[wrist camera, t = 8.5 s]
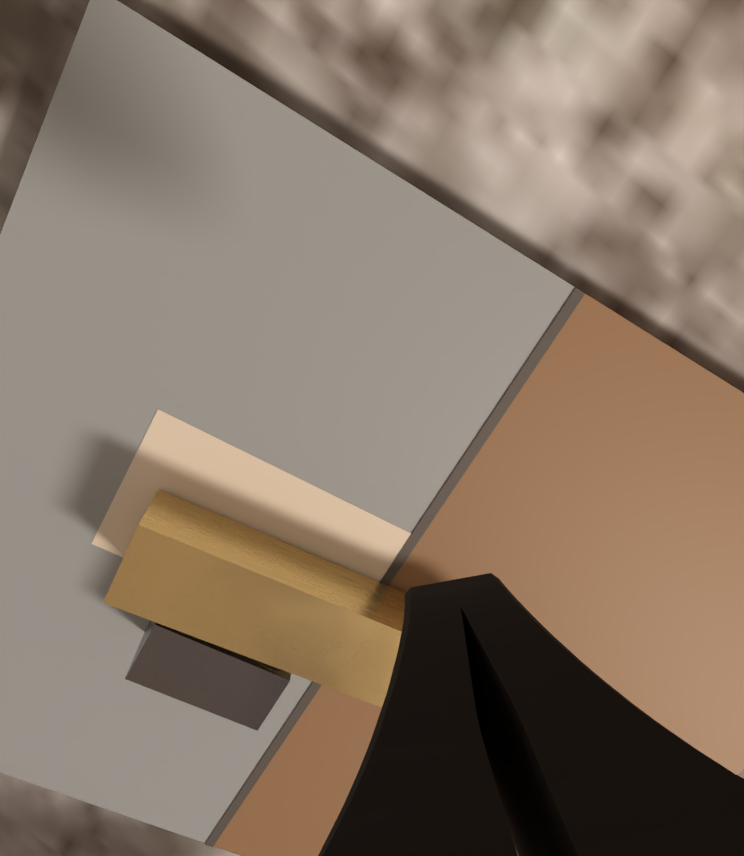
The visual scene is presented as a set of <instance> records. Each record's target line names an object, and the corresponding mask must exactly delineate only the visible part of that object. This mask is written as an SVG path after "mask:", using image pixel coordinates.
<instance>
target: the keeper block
mask: <svg viewBox="0 0 744 856" xmlns="http://www.w3.org/2000/svg"><path fill="white" fill-rule="evenodd" d="M290 677H291V673H289V672H286V671H284V670H281V669H278V668H276V667H273V666H270V665H268V664H265V663H262V662H260V661H257V660H254V659H252V658H249V657H246V656H244V655H241V654H238V653H236V652H233V651H230V650H228V649H225V648H222V647H220V646H217V645H214V644H212V643H209V642H206V641H204V640H201V639H198V638H196V637H193V636H190V635H188V634H185V633H183V632H180V631H177V630H175V629H172V628H169V627H167V626H164V625H161V624H159V623H156V622H153V621H150V623H149V625H148V627H147V628H146V630H145V632H144V634H143V637H142V639H141V641H140V644H139V646H138V649H137V651H136V653H135V656H134V658H133V661H132V663H131V665H130V668H129V670H128V672H127V675H126V677H125V679H126V680H129V681H131V682H134V683H136V684H139V685H142V686H144V687H147V688H149V689H152V690H154V691H157V692H159V693H162V694H165V695H167V696H170V697H172V698H175V699H177V700H180V701H182V702H185V703H188V704H190V705H193V706H195V707H198V708H200V709H203V710H205V711H208V712H211V713H213V714H216V715H218V716H221V717H223V718H226V719H228V720H231V721H234V722H236V723H239V724H241V725H244V726H246V727H249V728H251V729H254V730H257V731H258V729H259V728H260V726H261V725H262V723H263V722H264V720H265V719H266V717H267V716H268V714H269V713H270V711H271V709H272V708H273V706H274V705H275V703H276V702H277V700H278V699H279V697H280V696H281V694H282V693H283V691H284V690H285V688H286V686H287V685H288V683H289V682H290Z"/></svg>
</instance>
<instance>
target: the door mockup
mask: <svg viewBox="0 0 744 856" xmlns="http://www.w3.org/2000/svg"><path fill="white" fill-rule="evenodd" d="M158 489H159V490H162V491H164V492H166V493H169V494H171V495H174V496H176V497H178V498H181V499H183V500H185V501H188V502H190V503H193V504H195V505H197V506H200V507H202V508H204V509H207V510H209V511H212V512H214V513H216V514H219V515H221V516H224V517H226V518H228V519H231V520H233V521H235V522H238V523H240V524H243V525H245V526H247V527H250V528H252V529H254V530H257V531H259V532H262V533H264V534H266V535H269V536H271V537H273V538H276V539H278V540H281V541H283V542H285V543H288V544H290V545H293V546H295V547H297V548H300V549H302V550H304V551H307V552H309V553H312V554H314V555H316V556H319V557H321V558H323V559H326V560H328V561H331V562H333V563H335V564H338V565H340V566H343V567H345V568H347V569H350V570H352V571H354V572H357V573H359V574H362V575H364V576H366V577H369V578H371V579H373V580H376V581H378V582H381V583H383V584H385V585H388V586H390V587H392V588H395V589H397V590H400V591H402V592H404V593H406V592H407V591H408V590H409V589H410V588H411V587H416V586H421V585H427V584H432V583H438V582H443V581H449V580H455V579H460V578H466V577H471V576H477V575H482V574H488V573H492V574H493V575H495V576H496V577H498V578H499V579H500V580H501V582H502V583H503V584H504V585H505V586H506V587H507V589H508V590H509V591H510V592H511V593H512V594H513V595H514V596H515V598H516V599H517V600H518V601H519V602H520V603H521V604H522V605H523V606H524V607H525V608H526V609H527V610H528V611H529V612H530V613H531V614H532V615H533V616H534V617H535V618H536V619H537V620H538V621H539V622H540V623H541V624H542V625H543V626H544V627H545V628H546V629H547V630H548V631H549V632H550V633H551V634H552V635H553V636H554V637H555V638H556V639H557V640H559V641H560V642H561V643H562V644H563V645H564V646H565V647H566V648H567V649H568V650H570V651H571V652H572V653H573V654H574V655H575V656H576V657H577V658H578V659H579V660H581V661H582V662H583V663H584V664H585V665H586V666H587V667H589V668H590V669H591V670H592V671H593V672H594V673H596V674H597V675H598V676H599V677H600V678H602V679H603V680H604V681H605V682H606V683H608V684H609V685H610V686H611V687H613V688H614V689H615V690H616V691H618V692H619V693H620V694H621V695H623V696H624V697H625V698H626V699H628V700H629V701H630V702H632V703H633V704H634V705H635V706H637V707H638V708H639V709H641V710H642V711H643V712H645V713H646V714H647V715H649V716H650V717H651V718H653V719H654V720H655V721H657V722H658V723H660V724H661V725H662V726H664V727H665V728H667V729H668V730H670V731H671V732H672V733H674V734H675V735H677V736H678V737H680V738H681V739H683V740H684V741H685V742H687V743H688V744H690V745H691V746H693V747H694V748H696V749H697V750H699V751H700V752H702V753H703V754H705V755H706V756H708V757H709V758H711V759H713V760H714V761H716V762H717V763H719V764H720V765H722V766H723V767H725V768H727V769H728V770H730V771H731V772H733V773H734V774H736V775H738V774H739V773H740V772H741V771H742V770H743V769H744V393H743V392H741V391H740V390H738V389H737V388H735V387H733V386H732V385H730V384H729V383H727V382H725V381H724V380H722V379H721V378H719V377H717V376H716V375H714V374H713V373H711V372H709V371H708V370H706V369H705V368H703V367H701V366H700V365H698V364H697V363H695V362H693V361H692V360H690V359H689V358H687V357H686V356H684V355H682V354H681V353H679V352H678V351H676V350H674V349H673V348H671V347H670V346H668V345H666V344H665V343H663V342H662V341H660V340H658V339H657V338H655V337H654V336H652V335H650V334H649V333H647V332H646V331H644V330H642V329H641V328H639V327H638V326H636V325H634V324H633V323H631V322H630V321H628V320H626V319H625V318H623V317H622V316H620V315H619V314H617V313H615V312H614V311H612V310H611V309H609V308H607V307H606V306H604V305H603V304H601V303H599V302H598V301H596V300H595V299H593V298H591V297H590V296H588V295H587V294H585V293H584V292H582V291H580V290H579V289H577V288H575V287H574V286H572V285H571V284H569V283H567V282H566V281H564V280H563V279H561V278H559V277H558V276H556V275H555V274H553V273H552V272H550V271H548V270H547V269H545V268H544V267H542V266H540V265H539V264H537V263H536V262H534V261H532V260H531V259H529V258H528V257H526V256H524V255H523V254H521V253H520V252H518V251H516V250H515V249H513V248H512V247H510V246H508V245H507V244H505V243H504V242H502V241H500V240H499V239H497V238H496V237H494V236H492V235H491V234H489V233H488V232H486V231H484V230H483V229H481V228H480V227H478V226H477V225H475V224H473V223H472V222H470V221H469V220H467V219H465V218H464V217H462V216H461V215H459V214H457V213H456V212H454V211H453V210H451V209H449V208H448V207H446V206H445V205H443V204H441V203H440V202H438V201H437V200H435V199H433V198H432V197H430V196H429V195H427V194H425V193H424V192H422V191H421V190H419V189H417V188H416V187H414V186H413V185H411V184H410V183H408V182H406V181H405V180H403V179H402V178H400V177H398V176H397V175H395V174H394V173H392V172H390V171H389V170H387V169H386V168H384V167H382V166H381V165H379V164H378V163H376V162H374V161H373V160H371V159H370V158H368V157H366V156H365V155H363V154H362V153H360V152H358V151H357V150H355V149H354V148H352V147H350V146H349V145H347V144H346V143H344V142H342V141H341V140H339V139H338V138H336V137H335V136H333V135H331V134H330V133H328V132H327V131H325V130H323V129H322V128H320V127H319V126H317V125H315V124H314V123H312V122H311V121H309V120H307V119H306V118H304V117H303V116H301V115H299V114H298V113H296V112H295V111H293V110H291V109H290V108H288V107H287V106H285V105H283V104H282V103H280V102H279V101H277V100H275V99H274V98H272V97H271V96H269V95H268V94H266V93H264V92H263V91H261V90H260V89H258V88H256V87H255V86H253V85H252V84H250V83H248V82H247V81H245V80H244V79H242V78H240V77H239V76H237V75H236V74H234V73H232V72H231V71H229V70H228V69H226V68H224V67H223V66H221V65H220V64H218V63H216V62H215V61H213V60H212V59H210V58H208V57H207V56H205V55H204V54H202V53H201V52H199V51H197V50H196V49H194V48H193V47H191V46H189V45H188V44H186V43H185V42H183V41H181V40H180V39H178V38H177V37H175V36H173V35H172V34H170V33H169V32H167V31H165V30H164V29H162V28H161V27H159V26H157V25H156V24H154V23H153V22H151V21H149V20H148V19H146V18H145V17H143V16H141V15H140V14H138V13H137V12H135V11H133V10H132V9H130V8H129V7H127V6H126V5H124V4H122V3H121V2H119V1H118V0H90V1H89V3H88V6H87V9H86V11H85V14H84V16H83V19H82V22H81V24H80V27H79V30H78V32H77V35H76V37H75V40H74V43H73V45H72V48H71V50H70V53H69V56H68V58H67V61H66V64H65V66H64V69H63V71H62V74H61V77H60V79H59V82H58V85H57V87H56V90H55V92H54V95H53V98H52V100H51V103H50V105H49V108H48V111H47V113H46V116H45V119H44V121H43V124H42V126H41V129H40V132H39V134H38V137H37V139H36V142H35V145H34V147H33V150H32V153H31V155H30V158H29V160H28V163H27V166H26V168H25V171H24V174H23V176H22V179H21V181H20V184H19V187H18V189H17V192H16V194H15V197H14V200H13V202H12V205H11V208H10V210H9V213H8V215H7V218H6V221H5V223H4V226H3V229H2V231H1V234H0V773H2V774H5V775H8V776H11V777H14V778H17V779H20V780H23V781H26V782H28V783H31V784H34V785H37V786H40V787H43V788H46V789H49V790H52V791H55V792H58V793H61V794H63V795H66V796H69V797H72V798H75V799H78V800H81V801H84V802H87V803H90V804H93V805H95V806H98V807H101V808H104V809H107V810H110V811H113V812H116V813H119V814H122V815H125V816H127V817H130V818H133V819H136V820H139V821H142V822H145V823H148V824H151V825H154V826H157V827H159V828H162V829H165V830H168V831H171V832H174V833H177V834H180V835H183V836H186V837H189V838H192V839H194V840H197V841H200V842H203V843H205V844H206V845H209V846H211V847H213V846H215V847H218V848H221V849H224V850H226V851H229V852H232V853H235V854H238V855H241V856H318V855H319V853H320V851H321V849H322V847H323V845H324V843H325V841H326V839H327V837H328V835H329V833H330V831H331V829H332V827H333V825H334V823H335V821H336V819H337V817H338V815H339V813H340V811H341V809H342V807H343V805H344V803H345V801H346V798H347V796H348V794H349V792H350V789H351V787H352V785H353V783H354V780H355V778H356V776H357V773H358V771H359V769H360V766H361V764H362V761H363V759H364V756H365V754H366V751H367V749H368V746H369V743H370V741H371V738H372V735H373V732H374V729H375V726H376V723H377V720H378V718H379V715H380V712H381V709H382V707H379V706H377V705H374V704H371V703H369V702H366V701H363V700H361V699H358V698H355V697H353V696H350V695H347V694H345V693H342V692H339V691H337V690H334V689H331V688H329V687H326V686H323V685H321V684H318V683H316V682H313V681H310V680H308V679H305V678H302V677H300V676H297V675H294V674H292V673H291V677H290V682H289V683H288V685H287V686H286V688H285V690H284V691H283V693H282V694H281V696H280V697H279V699H278V700H277V702H276V703H275V705H274V706H273V708H272V709H271V711H270V713H269V714H268V716H267V717H266V719H265V720H264V722H263V723H262V725H261V726H260V728H259V729H258V731H257V730H254V729H251V728H249V727H246V726H244V725H241V724H239V723H236V722H234V721H231V720H228V719H226V718H223V717H221V716H218V715H216V714H213V713H211V712H208V711H205V710H203V709H200V708H198V707H195V706H193V705H190V704H188V703H185V702H182V701H180V700H177V699H175V698H172V697H170V696H167V695H165V694H162V693H159V692H157V691H154V690H152V689H149V688H147V687H144V686H142V685H139V684H136V683H134V682H131V681H129V680H126V679H125V677H126V675H127V672H128V670H129V668H130V665H131V663H132V661H133V658H134V656H135V653H136V651H137V649H138V646H139V644H140V641H141V639H142V637H143V634H144V632H145V630H146V628H147V627H148V625H149V623H150V621H151V620H148V619H145V618H143V617H140V616H137V615H135V614H132V613H129V612H127V611H124V610H121V609H119V608H116V607H113V606H111V605H108V604H105V603H103V601H104V599H105V597H106V595H107V593H108V590H109V588H110V586H111V584H112V582H113V579H114V577H115V575H116V573H117V571H118V568H119V566H120V564H121V562H122V560H123V557H124V555H125V553H126V551H127V549H128V547H129V544H130V542H131V540H132V538H133V536H134V533H135V531H136V529H137V527H138V525H139V523H140V521H141V519H142V518H143V516H144V514H145V512H146V511H147V509H148V507H149V505H150V504H151V502H152V500H153V498H154V496H155V495H156V493H157V491H158ZM515 848H516V847H515ZM516 851H517V850H516ZM517 854H518V853H517Z"/></svg>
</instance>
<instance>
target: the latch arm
mask: <svg viewBox="0 0 744 856" xmlns="http://www.w3.org/2000/svg"><path fill="white" fill-rule="evenodd" d="M405 594H406V593H404V592H402V591H400V590H397V589H395V588H392V587H390V586H388V585H385V584H383V583H381V582H378V581H376V580H373V579H371V578H369V577H366V576H364V575H362V574H359V573H357V572H354V571H352V570H350V569H347V568H345V567H343V566H340V565H338V564H335V563H333V562H331V561H328V560H326V559H323V558H321V557H319V556H316V555H314V554H312V553H309V552H307V551H304V550H302V549H300V548H297V547H295V546H293V545H290V544H288V543H285V542H283V541H281V540H278V539H276V538H273V537H271V536H269V535H266V534H264V533H262V532H259V531H257V530H254V529H252V528H250V527H247V526H245V525H243V524H240V523H238V522H235V521H233V520H231V519H228V518H226V517H224V516H221V515H219V514H216V513H214V512H212V511H209V510H207V509H204V508H202V507H200V506H197V505H195V504H193V503H190V502H188V501H185V500H183V499H181V498H178V497H176V496H174V495H171V494H169V493H166V492H164V491H162V490H159V489H158V491H157V493H156V495H155V496H154V498H153V500H152V502H151V504H150V505H149V507H148V509H147V511H146V512H145V514H144V516H143V518H142V519H141V521H140V523H139V525H138V527H137V529H136V531H135V533H134V536H133V538H132V540H131V542H130V544H129V547H128V549H127V551H126V553H125V555H124V557H123V560H122V562H121V564H120V566H119V568H118V571H117V573H116V575H115V577H114V579H113V582H112V584H111V586H110V588H109V590H108V593H107V595H106V597H105V599H104V601H103V603H105V604H108V605H111V606H113V607H116V608H119V609H121V610H124V611H127V612H129V613H132V614H135V615H137V616H140V617H143V618H145V619H148V620H151V621H153V622H156V623H159V624H161V625H164V626H167V627H169V628H172V629H175V630H177V631H180V632H183V633H185V634H188V635H190V636H193V637H196V638H198V639H201V640H204V641H206V642H209V643H212V644H214V645H217V646H220V647H222V648H225V649H228V650H230V651H233V652H236V653H238V654H241V655H244V656H246V657H249V658H252V659H254V660H257V661H260V662H262V663H265V664H268V665H270V666H273V667H276V668H278V669H281V670H284V671H286V672H289V673H292V674H294V675H297V676H300V677H302V678H305V679H308V680H310V681H313V682H316V683H318V684H321V685H323V686H326V687H329V688H331V689H334V690H337V691H339V692H342V693H345V694H347V695H350V696H353V697H355V698H358V699H361V700H363V701H366V702H369V703H371V704H374V705H377V706H379V707H382V706H383V703H384V700H385V697H386V694H387V690H388V687H389V683H390V680H391V676H392V672H393V668H394V664H395V660H396V656H397V652H398V648H399V643H400V638H401V632H402V627H403V619H404V608H405V600H404V595H405Z"/></svg>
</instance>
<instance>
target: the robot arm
mask: <svg viewBox="0 0 744 856" xmlns="http://www.w3.org/2000/svg"><path fill="white" fill-rule="evenodd" d="M404 600H405V608H404V619H403V627H402V632H401V638H400V643H399V648H398V652H397V656H396V660H395V664H394V668H393V672H392V676H391V680H390V683H389V687H388V690H387V694H386V697H385V700H384V703H383V706H382V709H381V712H380V715H379V718H378V720H377V723H376V726H375V729H374V732H373V735H372V738H371V741H370V743H369V746H368V749H367V751H366V754H365V756H364V759H363V761H362V764H361V766H360V769H359V771H358V773H357V776H356V778H355V780H354V783H353V785H352V787H351V789H350V792H349V794H348V796H347V798H346V801H345V803H344V805H343V807H342V809H341V811H340V813H339V815H338V817H337V819H336V821H335V823H334V825H333V827H332V829H331V831H330V833H329V835H328V837H327V839H326V841H325V843H324V845H323V847H322V849H321V851H320V853H319V855H318V856H744V779H743V778H741V777H740V776H738V775H736V774H734V773H733V772H731V771H730V770H728V769H727V768H725V767H723V766H722V765H720V764H719V763H717V762H716V761H714V760H713V759H711V758H709V757H708V756H706V755H705V754H703V753H702V752H700V751H699V750H697V749H696V748H694V747H693V746H691V745H690V744H688V743H687V742H685V741H684V740H683V739H681V738H680V737H678V736H677V735H675V734H674V733H672V732H671V731H670V730H668V729H667V728H665V727H664V726H662V725H661V724H660V723H658V722H657V721H655V720H654V719H653V718H651V717H650V716H649V715H647V714H646V713H645V712H643V711H642V710H641V709H639V708H638V707H637V706H635V705H634V704H633V703H632V702H630V701H629V700H628V699H626V698H625V697H624V696H623V695H621V694H620V693H619V692H618V691H616V690H615V689H614V688H613V687H611V686H610V685H609V684H608V683H606V682H605V681H604V680H603V679H602V678H600V677H599V676H598V675H597V674H596V673H594V672H593V671H592V670H591V669H590V668H589V667H587V666H586V665H585V664H584V663H583V662H582V661H581V660H579V659H578V658H577V657H576V656H575V655H574V654H573V653H572V652H571V651H570V650H568V649H567V648H566V647H565V646H564V645H563V644H562V643H561V642H560V641H559V640H557V639H556V638H555V637H554V636H553V635H552V634H551V633H550V632H549V631H548V630H547V629H546V628H545V627H544V626H543V625H542V624H541V623H540V622H539V621H538V620H537V619H536V618H535V617H534V616H533V615H532V614H531V613H530V612H529V611H528V610H527V609H526V608H525V607H524V606H523V605H522V604H521V603H520V602H519V601H518V600H517V599H516V598H515V596H514V595H513V594H512V593H511V592H510V591H509V590H508V589H507V587H506V586H505V585H504V584H503V583H502V582H501V580H500V579H499V578H498V577H496V576H495V575H493V574H492V573H488V574H482V575H477V576H471V577H466V578H460V579H455V580H449V581H443V582H438V583H432V584H427V585H421V586H416V587H411V588H410V589H409V590H408V591H407V592H406V594H405V595H404ZM515 847H516V848H515ZM516 850H517V851H516ZM517 853H518V854H517Z"/></svg>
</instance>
